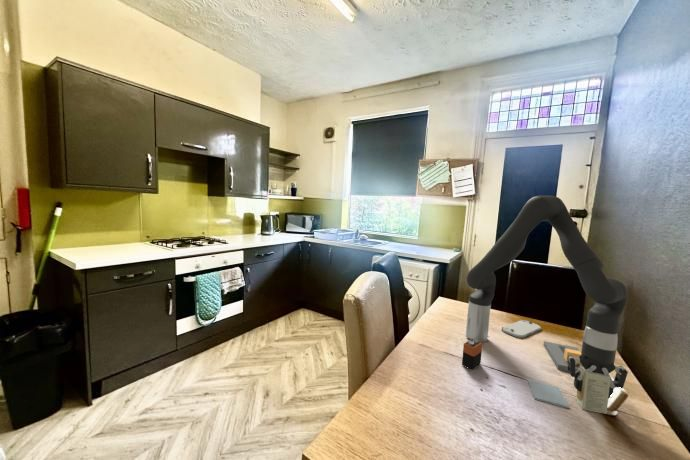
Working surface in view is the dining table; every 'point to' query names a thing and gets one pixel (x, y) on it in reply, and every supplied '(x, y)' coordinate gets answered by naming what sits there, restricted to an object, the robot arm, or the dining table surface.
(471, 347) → the battery
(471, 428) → the dining table surface
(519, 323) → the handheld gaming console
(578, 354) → the slider tab
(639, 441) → the dining table surface
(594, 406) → the skincare box
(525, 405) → the dining table surface
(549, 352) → the switch panel
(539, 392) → the mat
